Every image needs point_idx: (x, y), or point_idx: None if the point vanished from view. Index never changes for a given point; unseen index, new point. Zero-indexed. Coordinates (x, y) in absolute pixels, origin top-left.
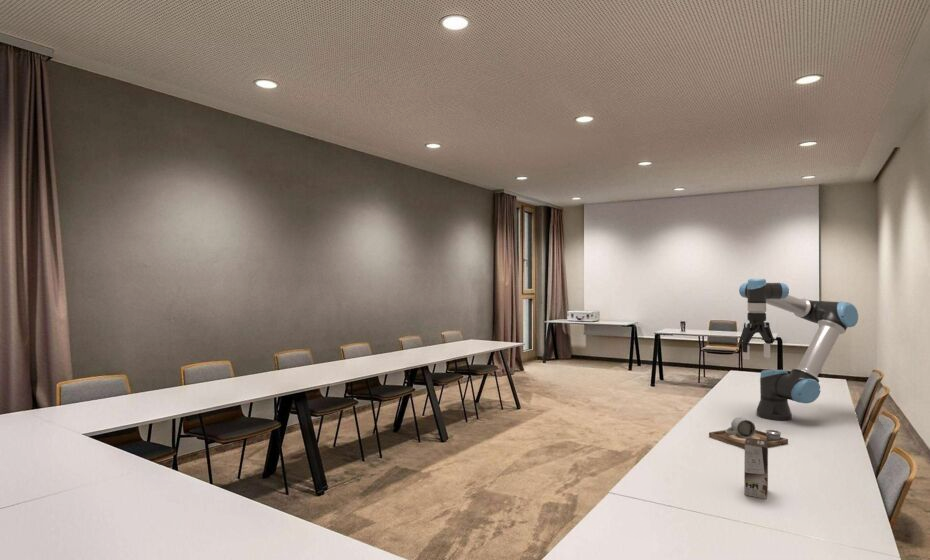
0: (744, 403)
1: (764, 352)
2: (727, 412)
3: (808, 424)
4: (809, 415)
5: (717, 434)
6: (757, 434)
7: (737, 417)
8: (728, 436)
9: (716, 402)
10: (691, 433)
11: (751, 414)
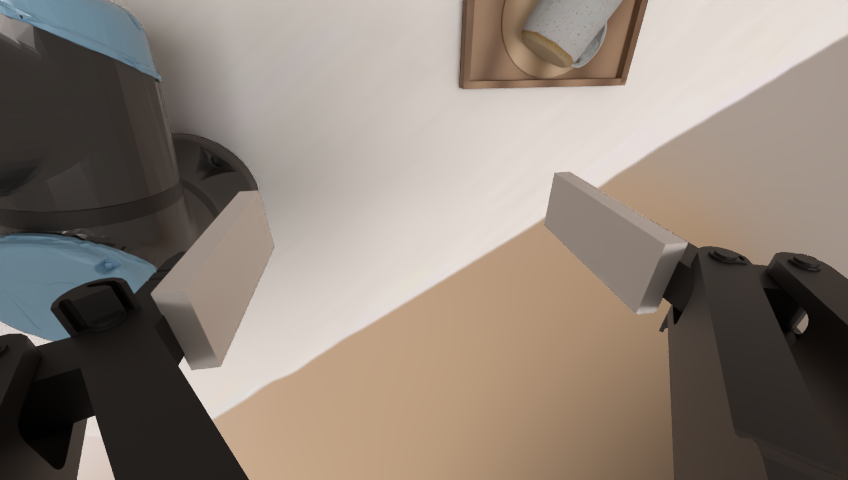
0: None
1: (258, 269)
2: (324, 273)
3: None
4: None
5: (592, 78)
6: (479, 16)
7: (574, 47)
8: None
9: (267, 360)
10: (617, 135)
11: None
